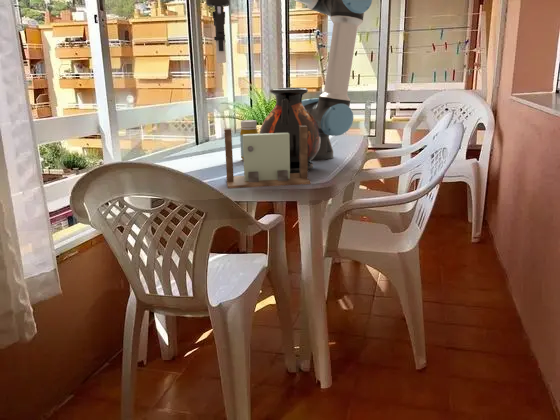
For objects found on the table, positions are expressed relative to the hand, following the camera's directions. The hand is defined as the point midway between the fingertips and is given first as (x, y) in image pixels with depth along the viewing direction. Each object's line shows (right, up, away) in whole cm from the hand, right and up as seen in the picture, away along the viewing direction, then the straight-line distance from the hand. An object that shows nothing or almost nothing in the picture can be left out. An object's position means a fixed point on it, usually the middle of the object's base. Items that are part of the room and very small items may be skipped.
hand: (221, 62), depth 162 cm
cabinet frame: (+15, -40, -7) cm, 43 cm away
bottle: (+7, -28, +35) cm, 46 cm away
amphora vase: (+23, -34, +13) cm, 43 cm away
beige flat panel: (+15, -39, -8) cm, 42 cm away
